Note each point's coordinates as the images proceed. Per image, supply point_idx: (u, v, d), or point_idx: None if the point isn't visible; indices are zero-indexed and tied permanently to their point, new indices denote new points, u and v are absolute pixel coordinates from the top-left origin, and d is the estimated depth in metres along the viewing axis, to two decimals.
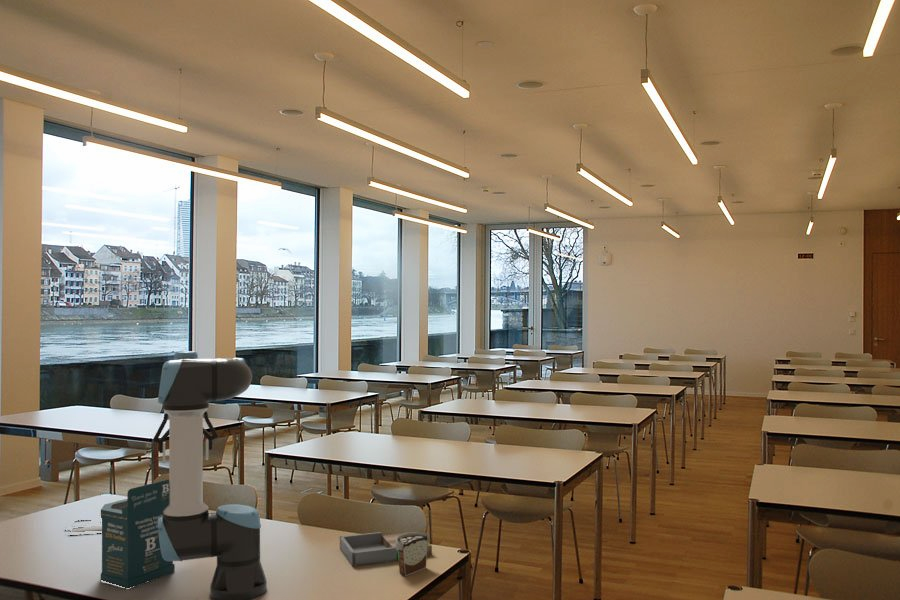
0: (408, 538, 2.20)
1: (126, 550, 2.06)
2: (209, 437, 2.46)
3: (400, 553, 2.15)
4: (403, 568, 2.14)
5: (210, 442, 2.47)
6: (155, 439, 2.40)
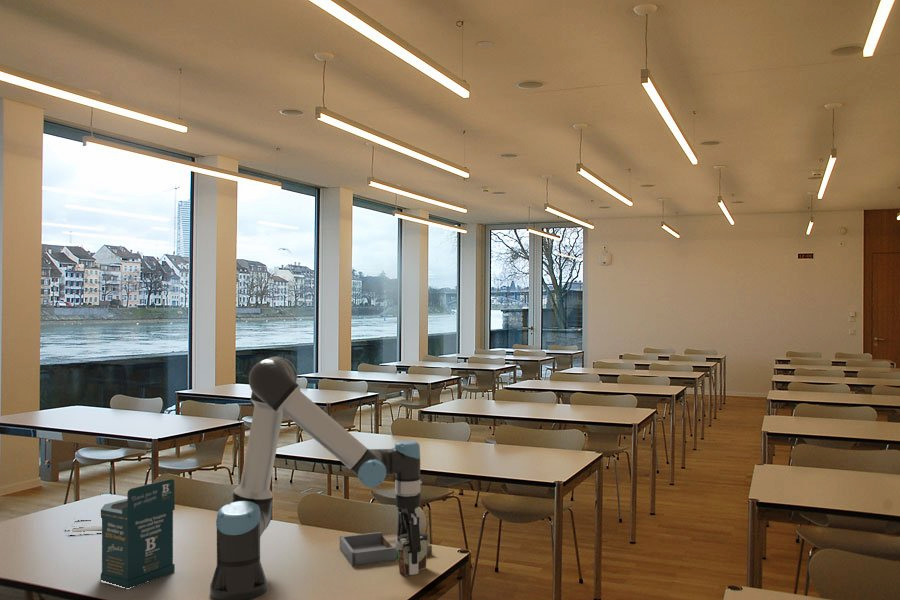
0: None
1: (126, 550, 2.06)
2: (410, 549, 2.14)
3: (400, 553, 2.15)
4: (403, 568, 2.14)
5: (412, 555, 2.14)
6: (397, 535, 2.26)
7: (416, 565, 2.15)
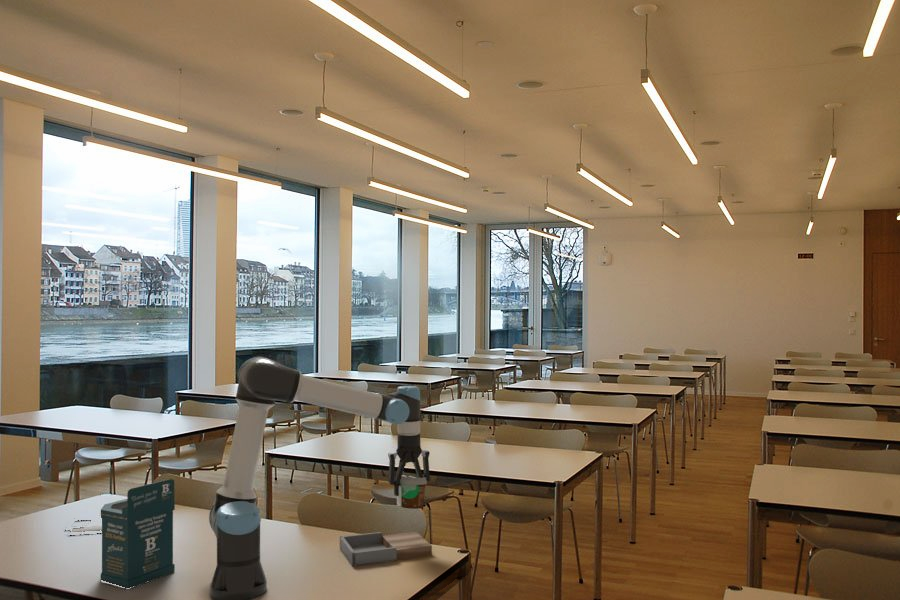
0: None
1: (126, 550, 2.06)
2: None
3: (420, 488, 2.35)
4: (422, 501, 2.36)
5: None
6: (392, 482, 2.35)
7: None
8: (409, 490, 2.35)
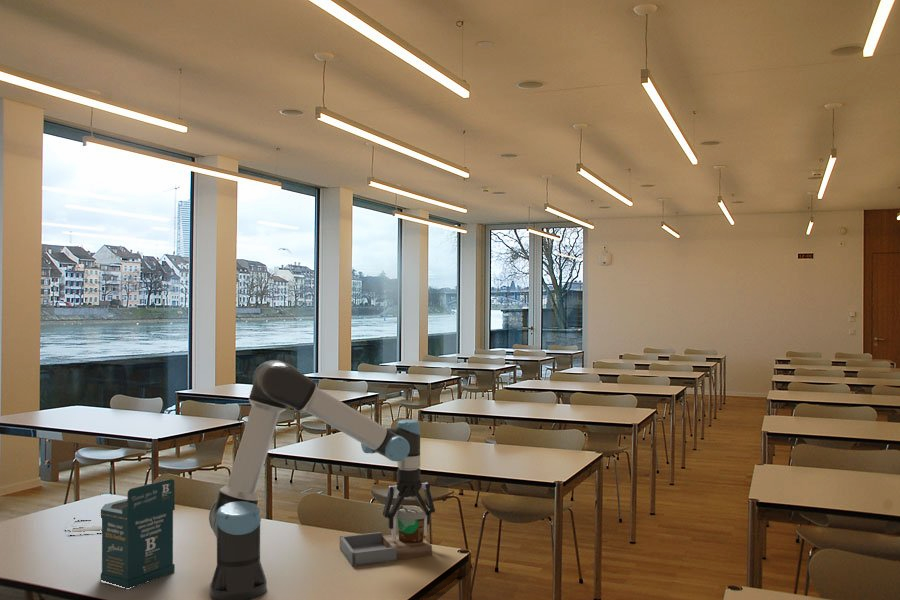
0: (404, 512, 2.38)
1: (126, 550, 2.06)
2: (427, 512, 2.39)
3: (420, 523, 2.35)
4: (421, 535, 2.36)
5: (428, 517, 2.40)
6: (386, 515, 2.34)
7: None
8: (408, 525, 2.35)
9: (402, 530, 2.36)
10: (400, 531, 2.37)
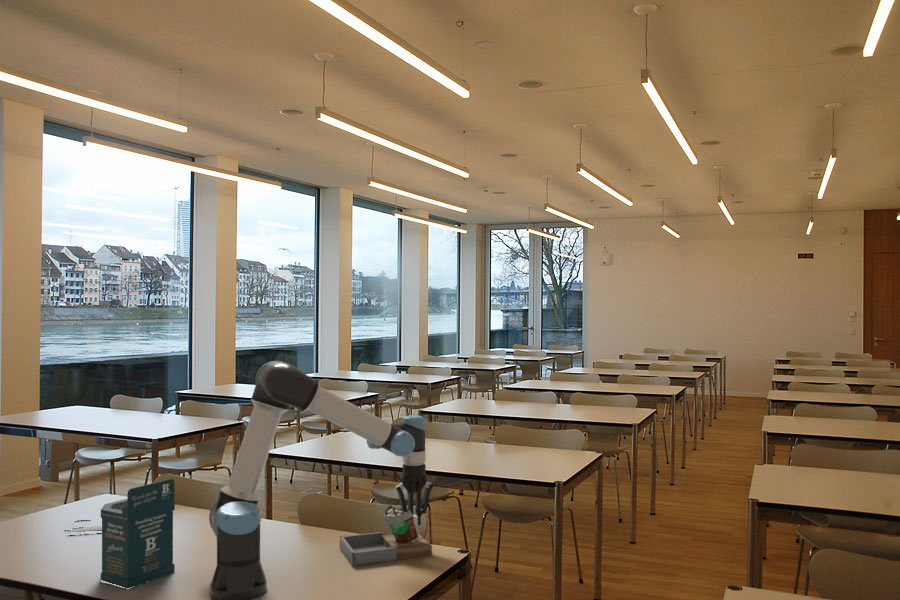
0: (391, 514, 2.36)
1: (126, 550, 2.06)
2: (419, 512, 2.38)
3: (408, 522, 2.33)
4: (414, 531, 2.34)
5: (419, 518, 2.39)
6: None
7: None
8: (398, 527, 2.33)
9: (394, 532, 2.35)
10: (393, 533, 2.36)
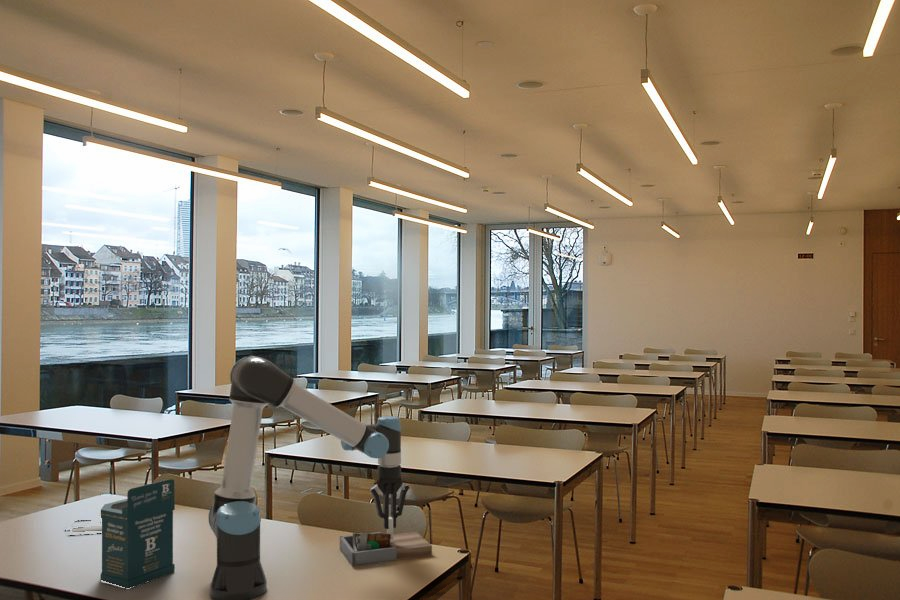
0: (358, 544, 2.33)
1: (126, 550, 2.06)
2: (394, 515, 2.35)
3: (371, 538, 2.30)
4: (383, 536, 2.32)
5: (394, 520, 2.36)
6: (381, 515, 2.34)
7: None
8: (370, 548, 2.31)
9: None
10: None
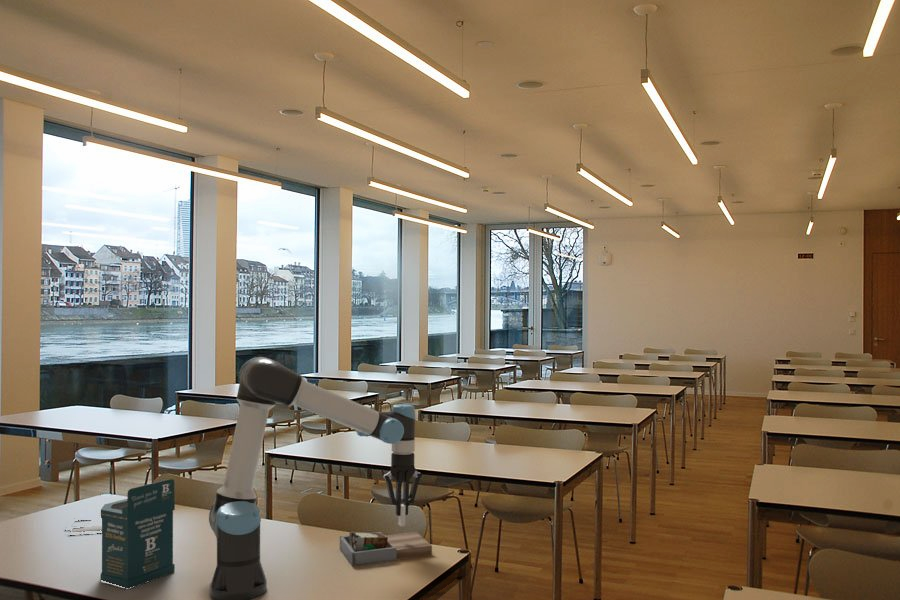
0: (354, 545, 2.33)
1: (126, 550, 2.06)
2: (407, 502, 2.37)
3: (368, 542, 2.29)
4: (380, 539, 2.31)
5: (406, 507, 2.37)
6: (394, 502, 2.35)
7: None
8: None
9: None
10: None
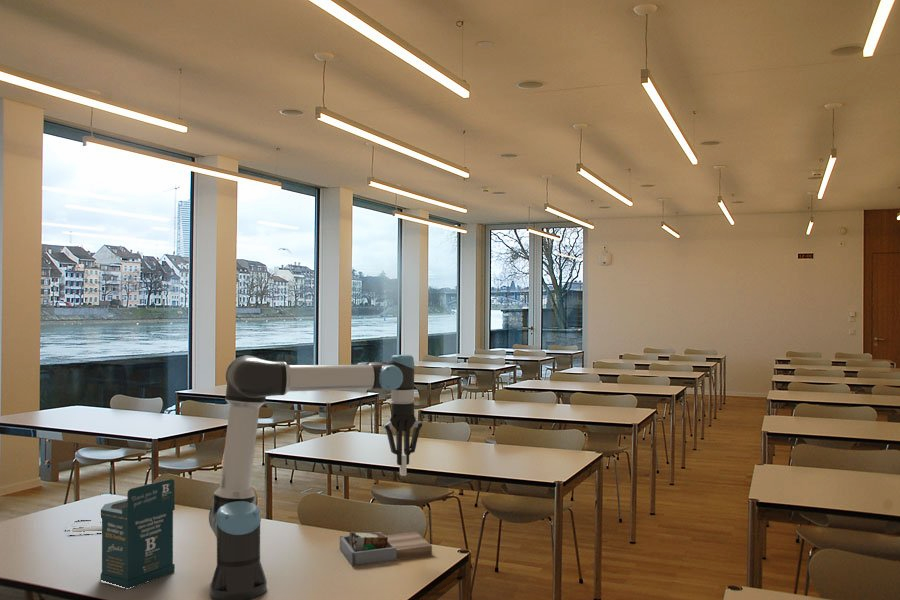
0: (354, 545, 2.33)
1: (126, 550, 2.06)
2: (408, 451, 2.37)
3: (368, 542, 2.29)
4: (380, 539, 2.31)
5: (407, 457, 2.38)
6: (394, 451, 2.36)
7: None
8: None
9: None
10: None
